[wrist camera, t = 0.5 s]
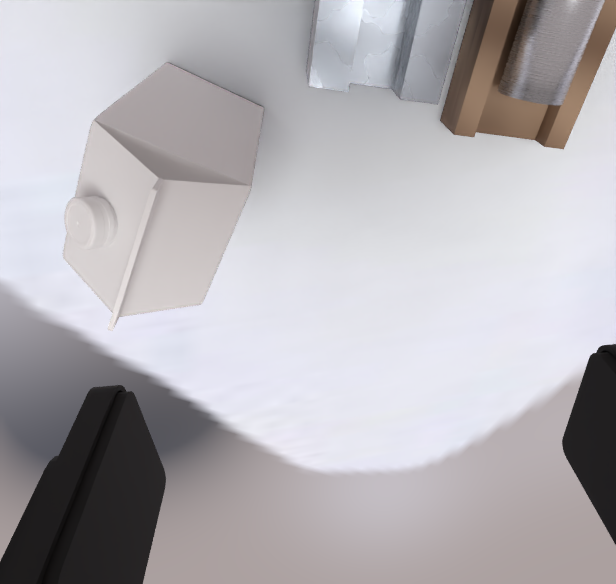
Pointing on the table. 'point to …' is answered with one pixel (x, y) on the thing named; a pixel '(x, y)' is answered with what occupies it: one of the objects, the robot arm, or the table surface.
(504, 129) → the brown piece
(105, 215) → the milk carton
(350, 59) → the v block
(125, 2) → the table surface
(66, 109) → the table surface
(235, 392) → the table surface
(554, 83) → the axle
